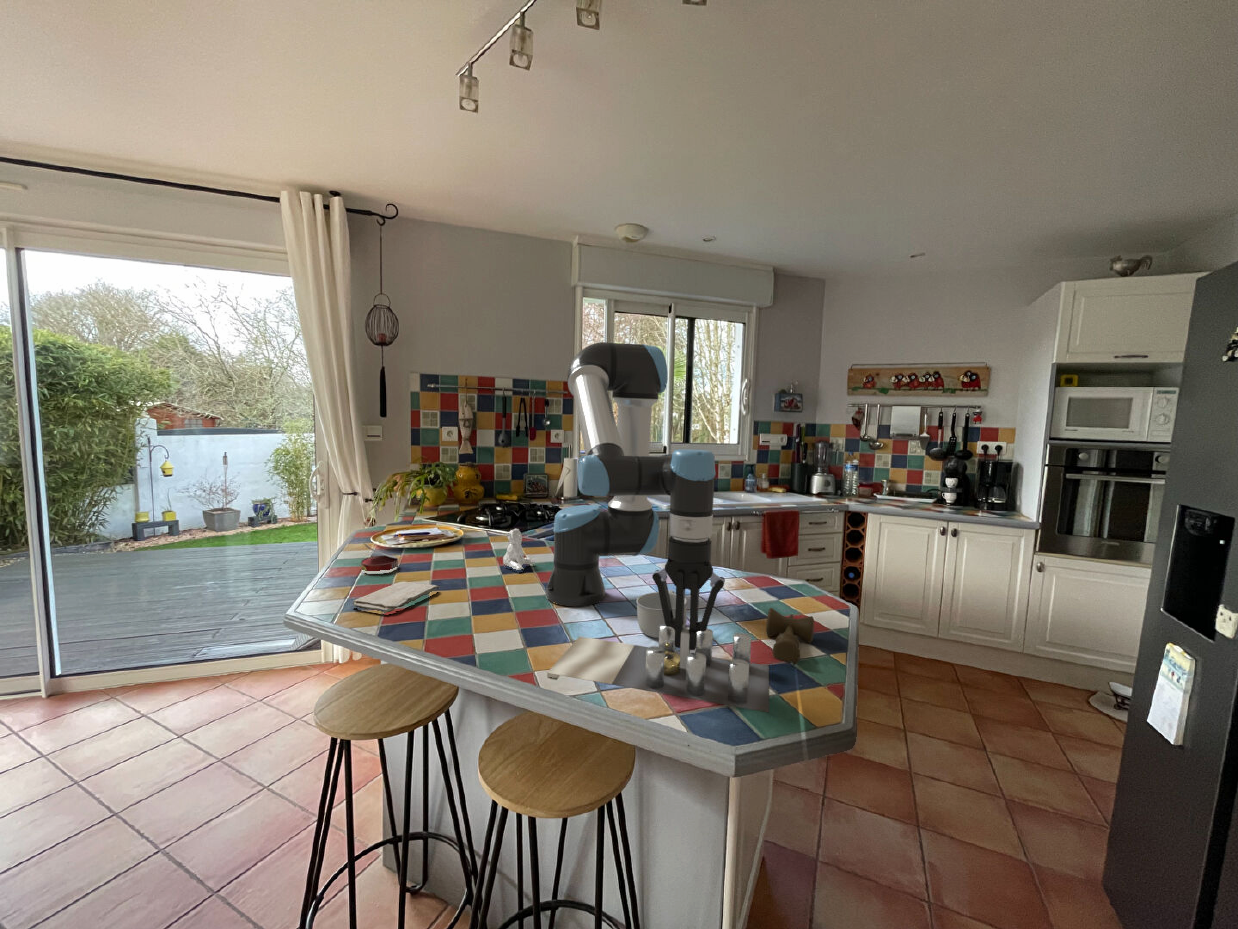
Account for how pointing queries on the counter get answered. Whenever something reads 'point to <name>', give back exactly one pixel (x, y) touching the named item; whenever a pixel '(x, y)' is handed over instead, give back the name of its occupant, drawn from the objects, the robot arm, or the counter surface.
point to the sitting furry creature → (515, 551)
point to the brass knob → (672, 664)
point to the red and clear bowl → (379, 562)
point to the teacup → (654, 612)
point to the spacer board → (629, 670)
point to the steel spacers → (701, 663)
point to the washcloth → (394, 596)
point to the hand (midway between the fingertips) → (684, 664)
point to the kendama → (788, 634)
